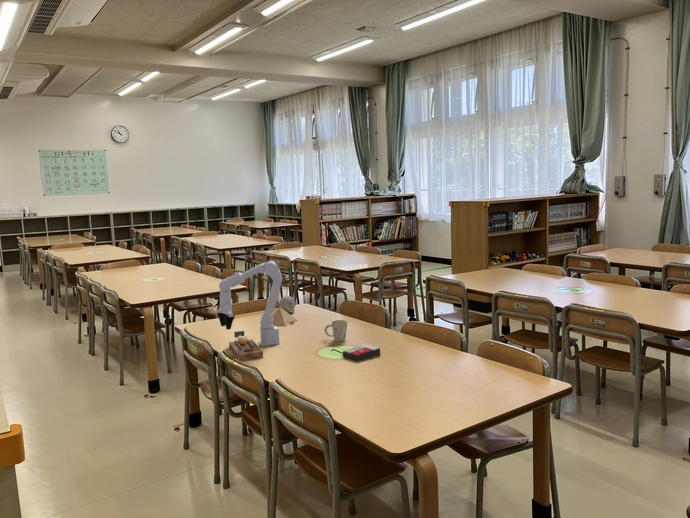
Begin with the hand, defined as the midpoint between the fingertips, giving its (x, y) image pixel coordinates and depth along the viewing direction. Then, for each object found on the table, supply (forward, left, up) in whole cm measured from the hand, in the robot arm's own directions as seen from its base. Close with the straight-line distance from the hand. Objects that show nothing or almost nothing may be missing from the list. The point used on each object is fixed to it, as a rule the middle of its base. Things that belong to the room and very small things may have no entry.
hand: (225, 327), depth 285 cm
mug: (-55, +16, -10) cm, 59 cm away
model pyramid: (-39, -35, -11) cm, 54 cm away
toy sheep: (-50, -59, -10) cm, 78 cm away
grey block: (-6, +5, -7) cm, 10 cm away
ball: (-6, +12, -5) cm, 14 cm away
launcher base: (-6, +16, -10) cm, 20 cm away
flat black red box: (-57, +48, -11) cm, 75 cm away
